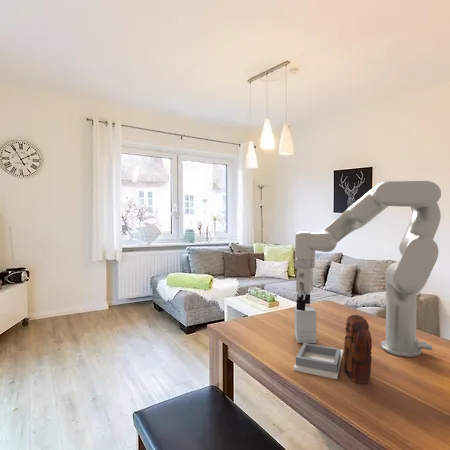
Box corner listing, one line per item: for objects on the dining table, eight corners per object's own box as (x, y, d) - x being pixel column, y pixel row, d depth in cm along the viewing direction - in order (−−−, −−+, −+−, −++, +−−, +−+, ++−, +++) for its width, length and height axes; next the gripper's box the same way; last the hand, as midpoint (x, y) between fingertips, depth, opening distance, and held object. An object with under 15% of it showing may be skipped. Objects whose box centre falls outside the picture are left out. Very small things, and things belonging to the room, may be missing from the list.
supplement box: (313, 336, 126) (313, 305, 125) (316, 343, 118) (316, 310, 118) (294, 335, 126) (294, 304, 126) (296, 343, 119) (296, 310, 119)
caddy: (343, 352, 111) (343, 342, 111) (337, 379, 93) (337, 367, 92) (306, 346, 116) (306, 336, 116) (293, 370, 98) (293, 359, 98)
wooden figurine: (339, 365, 101) (339, 310, 101) (359, 365, 101) (359, 310, 100) (353, 385, 89) (353, 323, 89) (375, 385, 89) (376, 323, 89)
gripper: (310, 267, 112) (309, 314, 113) (318, 261, 128) (316, 302, 128) (289, 265, 115) (288, 311, 116) (299, 259, 131) (298, 299, 131)
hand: (303, 306), depth 122 cm, fingers open, 9 cm apart
